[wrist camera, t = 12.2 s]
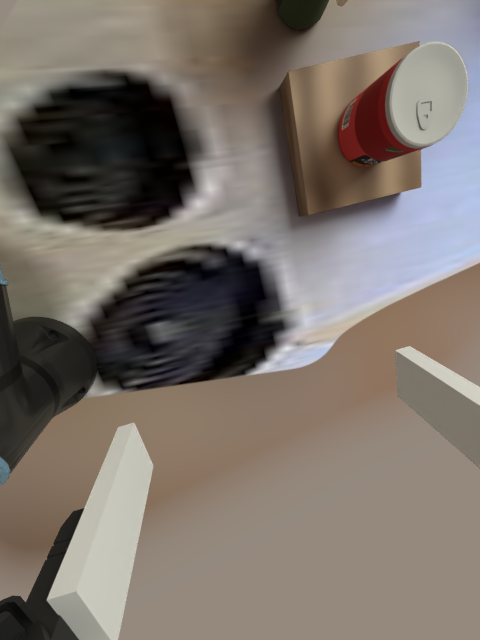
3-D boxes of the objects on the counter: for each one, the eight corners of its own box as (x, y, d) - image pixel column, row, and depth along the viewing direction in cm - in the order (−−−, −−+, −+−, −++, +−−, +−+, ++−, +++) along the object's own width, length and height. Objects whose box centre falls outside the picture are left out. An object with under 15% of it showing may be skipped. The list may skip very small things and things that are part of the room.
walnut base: (299, 216, 42) (308, 215, 38) (279, 86, 37) (288, 71, 33) (402, 190, 43) (421, 187, 39) (397, 59, 37) (419, 41, 34)
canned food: (346, 179, 37) (401, 161, 27) (326, 112, 35) (378, 65, 24) (399, 151, 37) (475, 123, 27) (383, 83, 35) (461, 22, 24)
